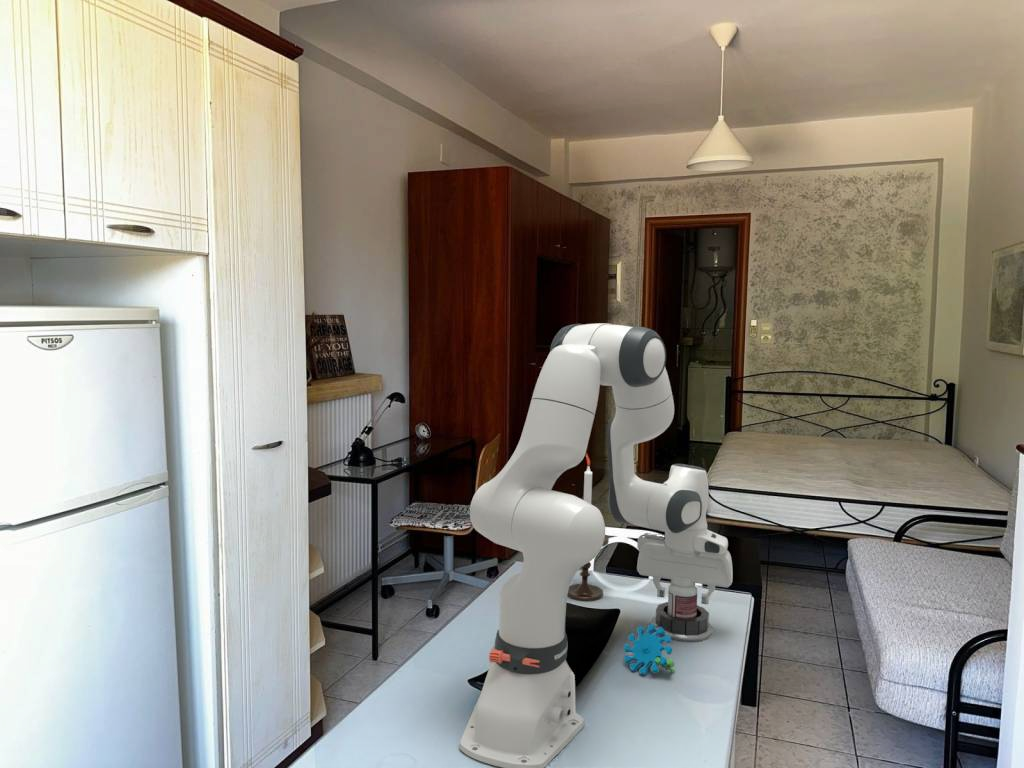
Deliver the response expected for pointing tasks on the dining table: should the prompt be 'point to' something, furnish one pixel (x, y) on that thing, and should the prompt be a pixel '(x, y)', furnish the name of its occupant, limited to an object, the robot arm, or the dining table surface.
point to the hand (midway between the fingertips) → (682, 599)
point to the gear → (649, 650)
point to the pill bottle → (682, 598)
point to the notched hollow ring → (683, 625)
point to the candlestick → (584, 589)
